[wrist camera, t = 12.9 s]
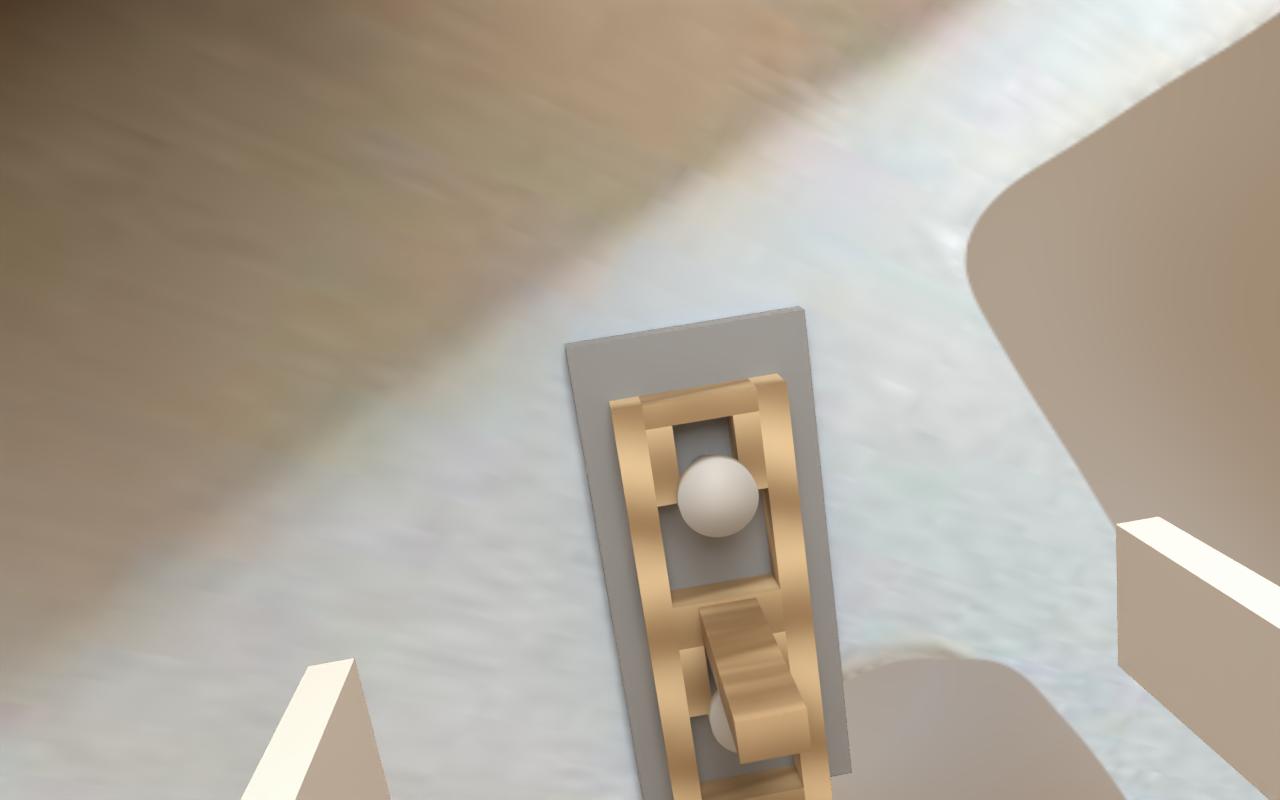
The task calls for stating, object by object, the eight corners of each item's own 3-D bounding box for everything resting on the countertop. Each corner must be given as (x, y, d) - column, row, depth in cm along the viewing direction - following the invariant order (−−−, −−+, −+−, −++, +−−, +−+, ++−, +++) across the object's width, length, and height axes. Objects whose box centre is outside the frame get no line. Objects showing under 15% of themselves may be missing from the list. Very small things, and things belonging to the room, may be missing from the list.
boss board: (565, 344, 46) (566, 366, 41) (798, 306, 47) (828, 323, 41) (643, 797, 53) (652, 865, 48) (845, 759, 53) (876, 823, 48)
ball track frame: (609, 401, 46) (625, 480, 34) (777, 373, 46) (850, 442, 34) (674, 805, 52) (707, 989, 40) (822, 778, 52) (897, 952, 41)
